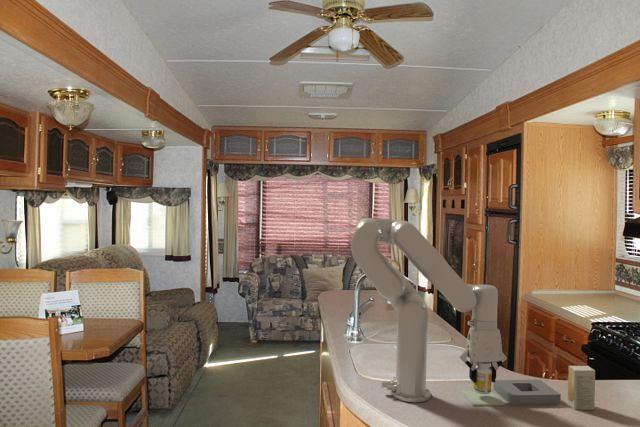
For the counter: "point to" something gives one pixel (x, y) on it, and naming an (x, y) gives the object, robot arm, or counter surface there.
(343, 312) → the counter surface
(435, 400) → the counter surface
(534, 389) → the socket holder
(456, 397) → the counter surface
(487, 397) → the rubber mat
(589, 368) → the skincare box
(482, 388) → the supplement bottle
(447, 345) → the counter surface
